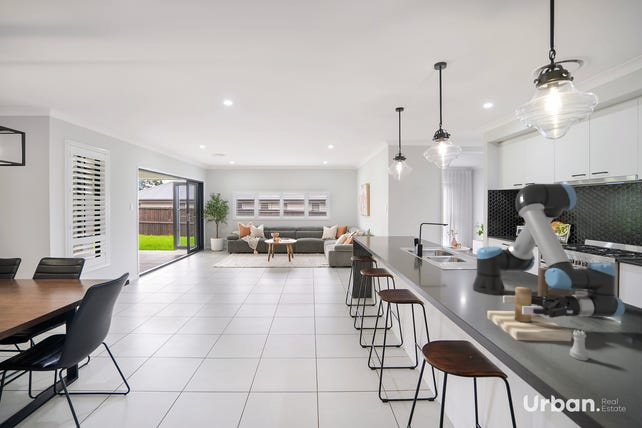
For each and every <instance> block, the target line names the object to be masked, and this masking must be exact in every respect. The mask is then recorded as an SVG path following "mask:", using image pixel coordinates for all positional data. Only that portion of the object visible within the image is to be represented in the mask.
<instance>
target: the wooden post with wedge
mask: <svg viewBox="0 0 642 428" xmlns="http://www.w3.org/2000/svg"><path fill="white" fill-rule="evenodd" d="M547 270H548V268H547V267H546V268H545V267H539V268H538V272H537V273H538V275H537V296H547V297H549V296H548V295H551V296H556V298H557V297H558V296H560V295H570V294H569V292H570V289H567V290H563V289H554V288H551V289H550V290H549V285H548V284H547V283H546V281H545V279H546V277H545V272H546V271H547ZM543 305H544V303H543ZM536 306H540V305H536ZM543 309H544V307H543Z"/></svg>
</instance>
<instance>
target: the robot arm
mask: <svg viewBox="0 0 642 428" xmlns="http://www.w3.org/2000/svg"><path fill="white" fill-rule="evenodd" d="M577 199H578V198H577V194H576V191H575V189H574V188H573V187H572V186H571V185H569V184H567V183H561V182H560V183H559V182H558V183H531V184H527V185H526V186H524V187H522V188H521V189H520V190H519V192H518V193H517V195H516V198H515V210H516V211H517V213H518V215H519V216H520V217H522V218H523V220H524V222H525V223H524V225H523V227H522V229H521V231H520V232H519V234H518V235H517V237H516V238H515V241H514V242H511V243H510V244H509V245H508V246H507V248H506V249H502V247H501V246H500V247H499V246H483V247H480V248H478V249H477V252H476V276H475V279H474V280H473V283H472V289H473V290H474V291H475V292H477V293H481V294H487V295H503V297H502V299H503V300H502V303H503V304H515V295H504V294H505V293H506V287H505V284H504V281H503V278H502V272H512V273H513V272H515V273H517V272H520V273H521V272H522V273H523V272H528V271H530V270H531V269H532V268H533V267H534V266H535V260H536V259H535V258H536V257H535V255H534V252H533V250H534V249H535V247H537V249H538V250H539V253H540V254H541V256H542V259H543V262H544V263H545V265H546V268H547V269H548V270H547V271H546V272H545V277H546V279H545V281H546V283H547V284H548V287H550V288H551V289H553V288H554V289H563V290H567V289H569V290H586V292H587V295H576V294H569V295H560V296H558V297H557V296H556V299H555V298H552V297H549V296H548V297H549V298H548V297H547V296H538V295H533V294H532V298H531V306H522V314H527V315H540V316H542V315H543V316H544V317H545V316H548V317H549V318H551V319H552V318H558V317H580V318H583V317H597V318H598V317H600V318H601V317H602V318H613V317H614V318H615V317H620V316H623V314H624V313H625V311H626V309H625V305H624V301H623V300H622V299H621V298H620V297H618V296H616V295H615V294H616V288H615V287H616V286H615V285H616V273H615V272H616V271H615V266H614V265H612V264H611V263H610V264H609V263H604V262H588V263H587V264H586V268H575V266H574V265H573V263H572V262H571V260H570V257H569V256H568V254H567V253H566V251H565V249H564V247H563V244H562V243H561V241H560V239H559V237H558V236H557V233H556V232H555V229H554V228H553V226H552V224H551V223H552V221H553V220H554V219H558V218H559V217H560V216H561V215H562V213H564V211H569V210H572V209H573V208H575V206H576V203H577ZM543 303H544V305H543ZM533 305H534V306H533ZM535 305H536V306H535ZM537 305H540V306H537ZM543 307H544V309H543Z"/></svg>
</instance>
